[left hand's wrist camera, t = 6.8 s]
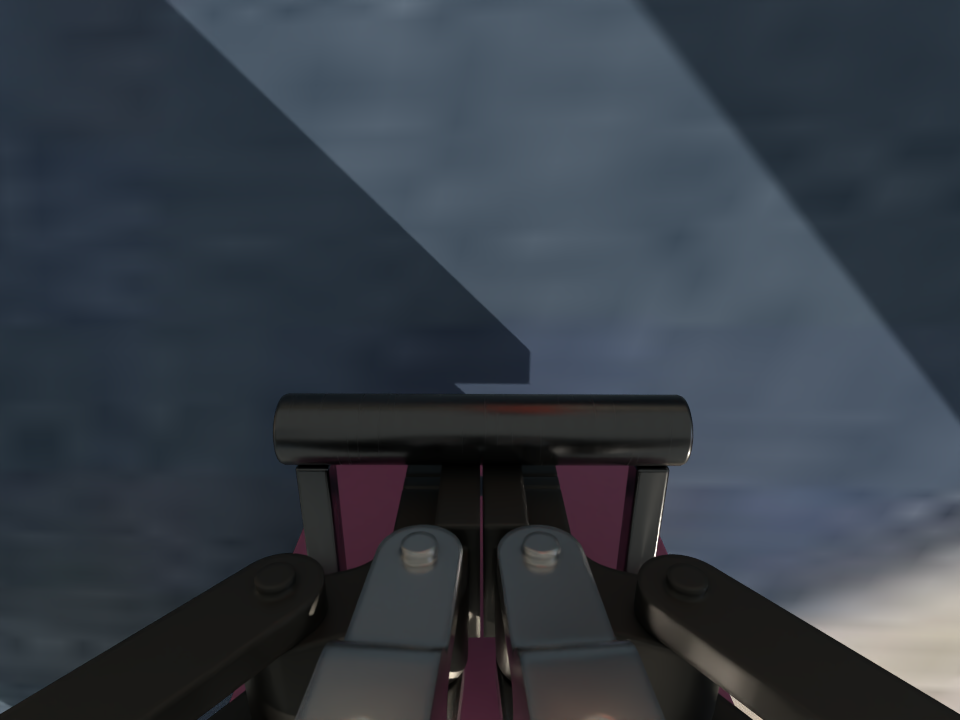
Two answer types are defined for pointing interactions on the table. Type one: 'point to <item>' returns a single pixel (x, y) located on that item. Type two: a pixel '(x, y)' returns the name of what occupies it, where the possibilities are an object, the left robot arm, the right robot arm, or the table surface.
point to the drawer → (482, 441)
